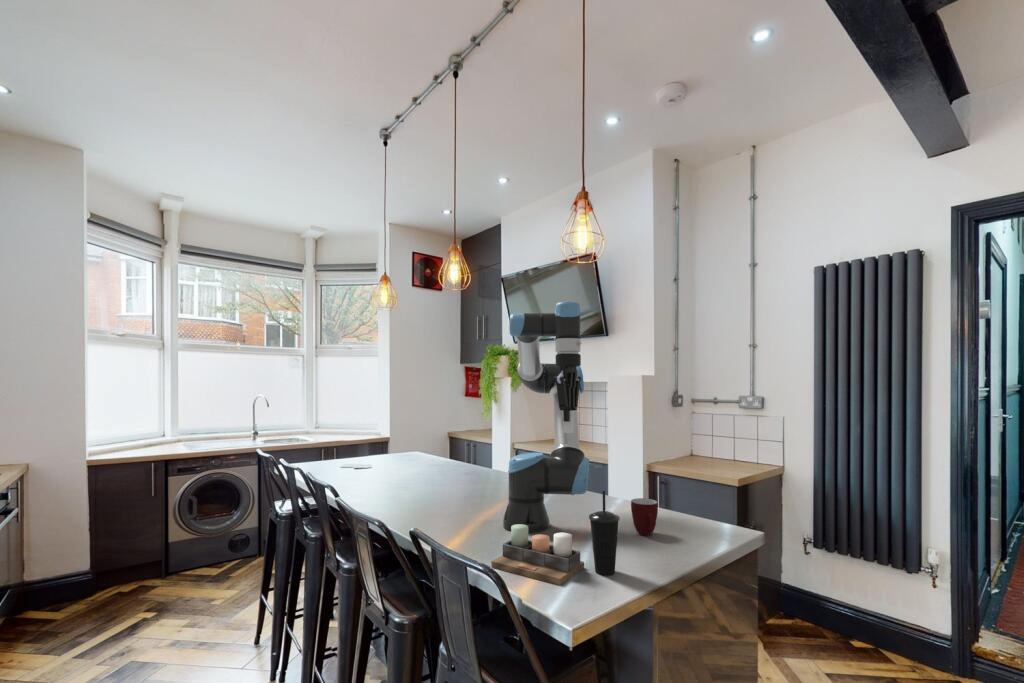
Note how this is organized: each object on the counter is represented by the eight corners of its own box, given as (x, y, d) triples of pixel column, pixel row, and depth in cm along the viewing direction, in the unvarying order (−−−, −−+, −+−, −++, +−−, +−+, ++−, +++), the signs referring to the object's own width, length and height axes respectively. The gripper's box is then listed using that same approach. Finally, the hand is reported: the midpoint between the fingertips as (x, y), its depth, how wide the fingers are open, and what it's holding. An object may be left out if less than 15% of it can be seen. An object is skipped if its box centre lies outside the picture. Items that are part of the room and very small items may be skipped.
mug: (668, 539, 152) (667, 505, 152) (644, 541, 149) (643, 507, 150) (649, 529, 162) (648, 497, 162) (626, 531, 159) (626, 499, 160)
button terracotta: (528, 557, 130) (528, 538, 130) (537, 552, 134) (537, 533, 134) (543, 561, 127) (543, 541, 128) (552, 556, 131) (552, 536, 132)
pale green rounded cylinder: (507, 546, 134) (507, 527, 134) (517, 542, 137) (517, 523, 138) (522, 550, 131) (522, 530, 131) (531, 545, 135) (531, 526, 135)
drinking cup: (586, 566, 130) (585, 487, 131) (615, 565, 130) (614, 487, 132) (593, 578, 122) (592, 494, 124) (624, 577, 123) (623, 494, 124)
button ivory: (550, 556, 126) (550, 536, 127) (559, 551, 130) (559, 531, 131) (566, 560, 124) (566, 539, 124) (575, 554, 128) (574, 534, 128)
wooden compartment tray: (491, 567, 129) (491, 549, 130) (518, 552, 140) (519, 536, 140) (560, 585, 118) (559, 565, 119) (584, 567, 129) (584, 549, 129)
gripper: (569, 352, 143) (569, 435, 142) (588, 353, 154) (589, 431, 152) (546, 352, 147) (546, 433, 146) (567, 354, 158) (567, 429, 157)
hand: (568, 432), depth 149 cm, fingers closed
